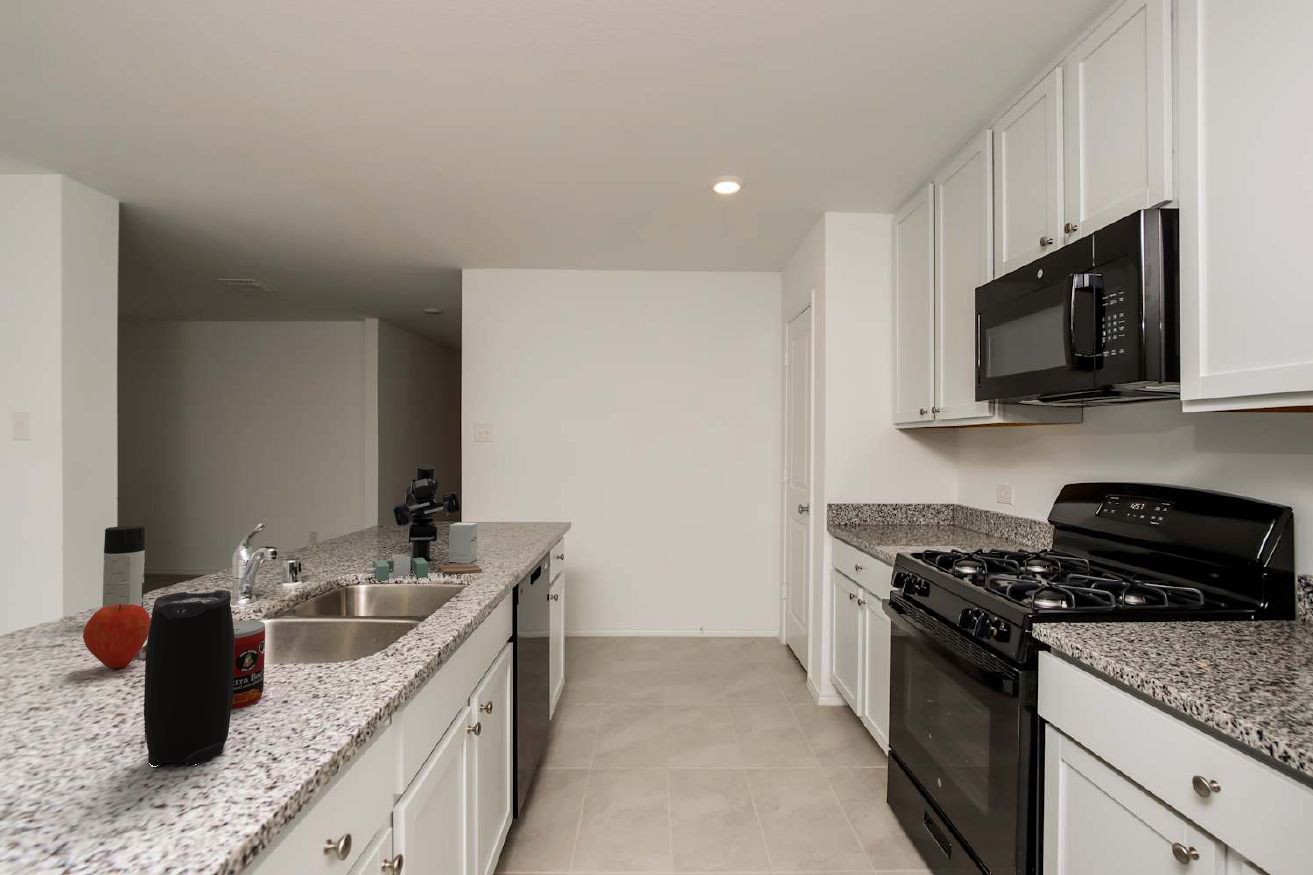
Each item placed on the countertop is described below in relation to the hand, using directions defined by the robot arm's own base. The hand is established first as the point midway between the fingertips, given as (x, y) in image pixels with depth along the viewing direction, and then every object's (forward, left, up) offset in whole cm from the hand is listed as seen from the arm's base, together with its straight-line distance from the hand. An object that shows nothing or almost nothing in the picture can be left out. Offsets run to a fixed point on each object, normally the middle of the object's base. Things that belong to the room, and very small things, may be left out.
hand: (429, 518), depth 187 cm
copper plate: (-2, +10, -17) cm, 19 cm away
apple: (+59, -59, -17) cm, 85 cm away
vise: (-4, -9, -17) cm, 19 cm away
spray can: (+26, -65, -17) cm, 72 cm away
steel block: (-1, -7, -17) cm, 18 cm away
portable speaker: (+101, -43, -17) cm, 111 cm away
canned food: (+84, -40, -17) cm, 94 cm away
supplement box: (-17, +14, -17) cm, 28 cm away
